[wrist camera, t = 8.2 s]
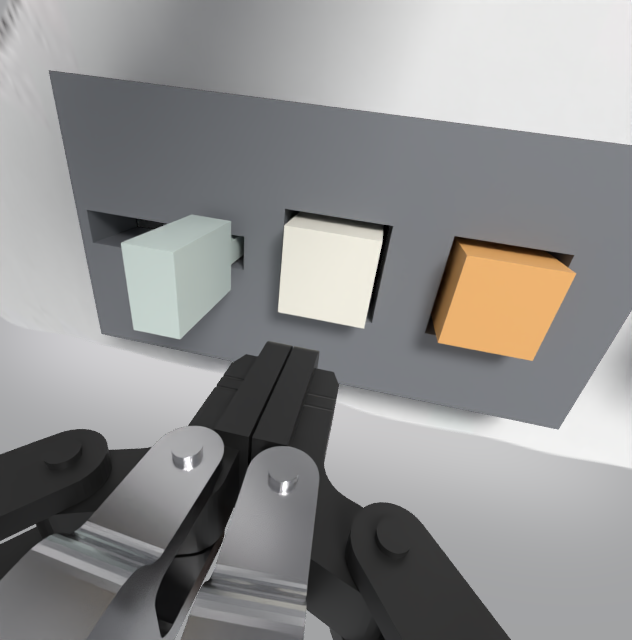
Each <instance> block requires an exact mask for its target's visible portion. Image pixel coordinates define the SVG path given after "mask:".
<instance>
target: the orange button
mask: <svg viewBox="0 0 632 640" xmlns="http://www.w3.org/2000/svg"><path fill="white" fill-rule="evenodd" d="M575 275H576V273H575V272H573V271H572V270H571V269H569V268H568V267H567V266H565V265H564V264H563V263H561V262H560V261H558V260H557V259H556V258H554V257H553V256H552V255H550V254H549V253H547V252H546V251H545V250H539V249H533V248H526V247H520V246H514V245H508V244H501V243H495V242H489V241H483V240H477V239H470V238H464V237H458V236H454V240H453V243H452V246H451V249H450V252H449V256H448V259H447V262H446V265H445V269H444V272H443V275H442V278H441V282H440V285H439V288H438V291H437V295H436V298H435V301H434V304H433V307H432V311H431V316H432V320H433V325H434V329H435V333H436V337H437V341H438V343H441V344H447V345H452V346H457V347H462V348H468V349H473V350H478V351H483V352H488V353H494V354H499V355H504V356H509V357H514V358H520V359H525V360H530V361H533V359H534V357H535V355H536V353H537V351H538V349H539V347H540V345H541V343H542V341H543V339H544V337H545V335H546V333H547V331H548V329H549V327H550V325H551V323H552V321H553V319H554V317H555V315H556V313H557V311H558V309H559V307H560V305H561V303H562V301H563V299H564V297H565V295H566V293H567V291H568V289H569V287H570V285H571V283H572V281H573V279H574V277H575Z"/></svg>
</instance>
